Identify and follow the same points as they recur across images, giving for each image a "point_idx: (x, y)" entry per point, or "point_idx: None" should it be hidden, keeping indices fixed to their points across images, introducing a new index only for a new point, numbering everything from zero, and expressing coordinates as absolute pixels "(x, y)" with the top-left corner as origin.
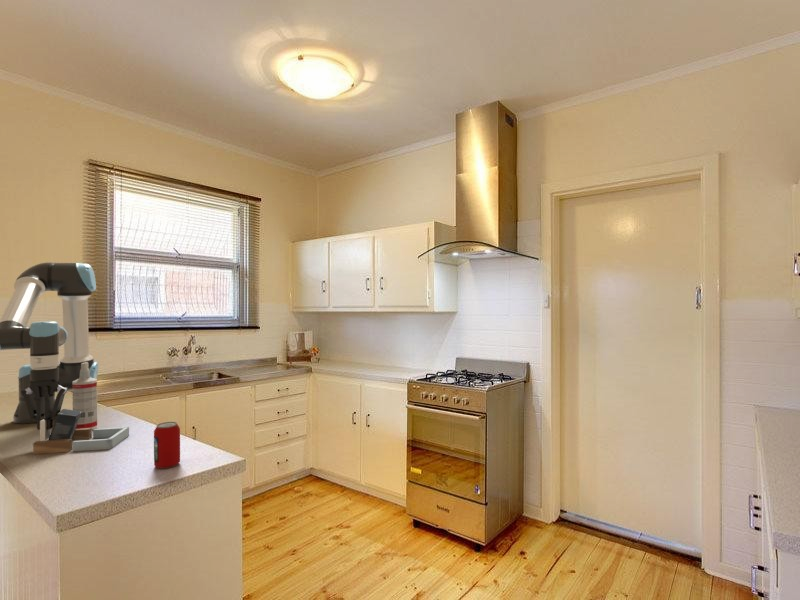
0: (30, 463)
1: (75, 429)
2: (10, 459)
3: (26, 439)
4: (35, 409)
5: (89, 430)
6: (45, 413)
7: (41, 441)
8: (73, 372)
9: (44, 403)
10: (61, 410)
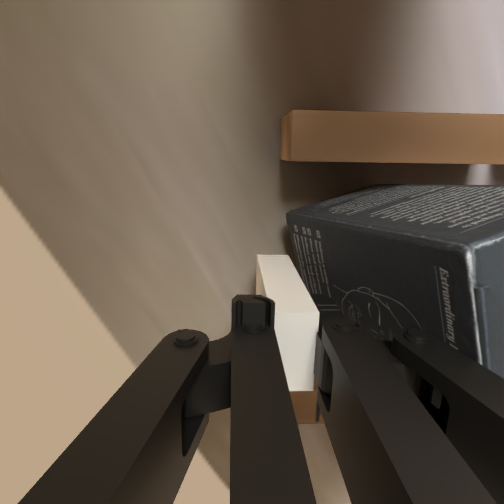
0: (329, 500)
1: (421, 140)
2: (206, 438)
3: (24, 36)
4: (179, 422)
5: None
6: (334, 441)
7: (313, 405)
8: None
9: (304, 460)
10: (481, 345)
